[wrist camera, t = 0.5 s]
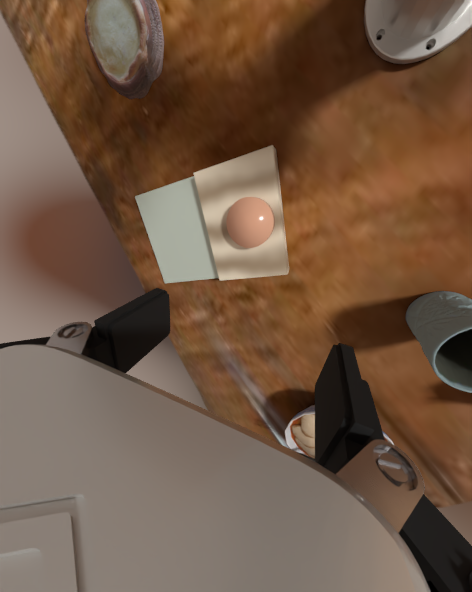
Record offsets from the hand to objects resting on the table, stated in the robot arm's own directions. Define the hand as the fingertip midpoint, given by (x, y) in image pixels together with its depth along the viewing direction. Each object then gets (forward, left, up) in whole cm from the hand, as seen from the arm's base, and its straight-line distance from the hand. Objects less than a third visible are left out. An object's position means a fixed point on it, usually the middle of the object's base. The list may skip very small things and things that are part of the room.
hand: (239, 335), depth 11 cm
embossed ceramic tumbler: (+15, +22, -30) cm, 40 cm away
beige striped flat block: (-5, -8, -30) cm, 32 cm away
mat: (-5, -24, -30) cm, 39 cm away
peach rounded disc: (-5, -6, -27) cm, 28 cm away
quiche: (-37, -23, -31) cm, 54 cm away
